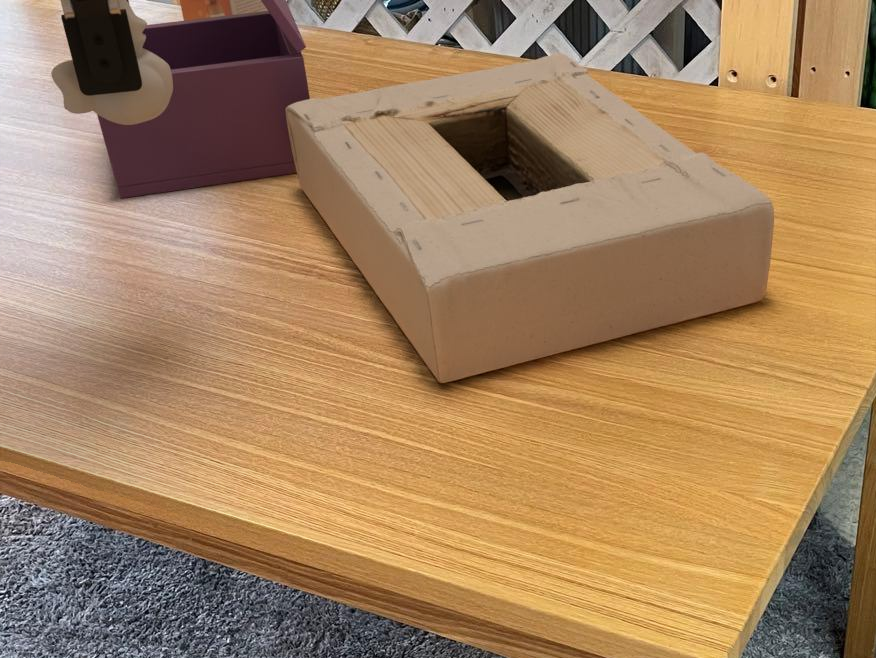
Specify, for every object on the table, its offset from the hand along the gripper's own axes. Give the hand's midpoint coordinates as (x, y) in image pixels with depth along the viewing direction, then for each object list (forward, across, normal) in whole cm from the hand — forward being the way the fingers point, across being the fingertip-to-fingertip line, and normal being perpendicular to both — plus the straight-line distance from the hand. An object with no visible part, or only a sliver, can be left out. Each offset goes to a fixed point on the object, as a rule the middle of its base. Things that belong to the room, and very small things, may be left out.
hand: (111, 69), depth 65 cm
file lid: (0, -29, +8) cm, 30 cm away
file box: (+17, -29, +5) cm, 34 cm away
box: (+16, -5, +24) cm, 29 cm away
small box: (+17, -50, +9) cm, 53 cm away
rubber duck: (+3, 0, 0) cm, 3 cm away
